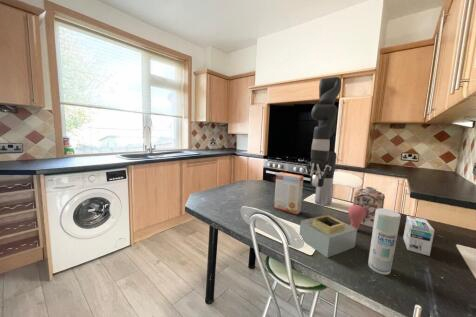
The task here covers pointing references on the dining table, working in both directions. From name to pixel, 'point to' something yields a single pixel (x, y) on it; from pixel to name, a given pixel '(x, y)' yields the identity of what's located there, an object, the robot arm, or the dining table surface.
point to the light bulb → (356, 215)
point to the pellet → (315, 180)
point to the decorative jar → (369, 203)
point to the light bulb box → (418, 235)
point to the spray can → (383, 240)
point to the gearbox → (328, 235)
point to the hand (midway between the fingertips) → (316, 185)
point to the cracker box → (288, 192)
